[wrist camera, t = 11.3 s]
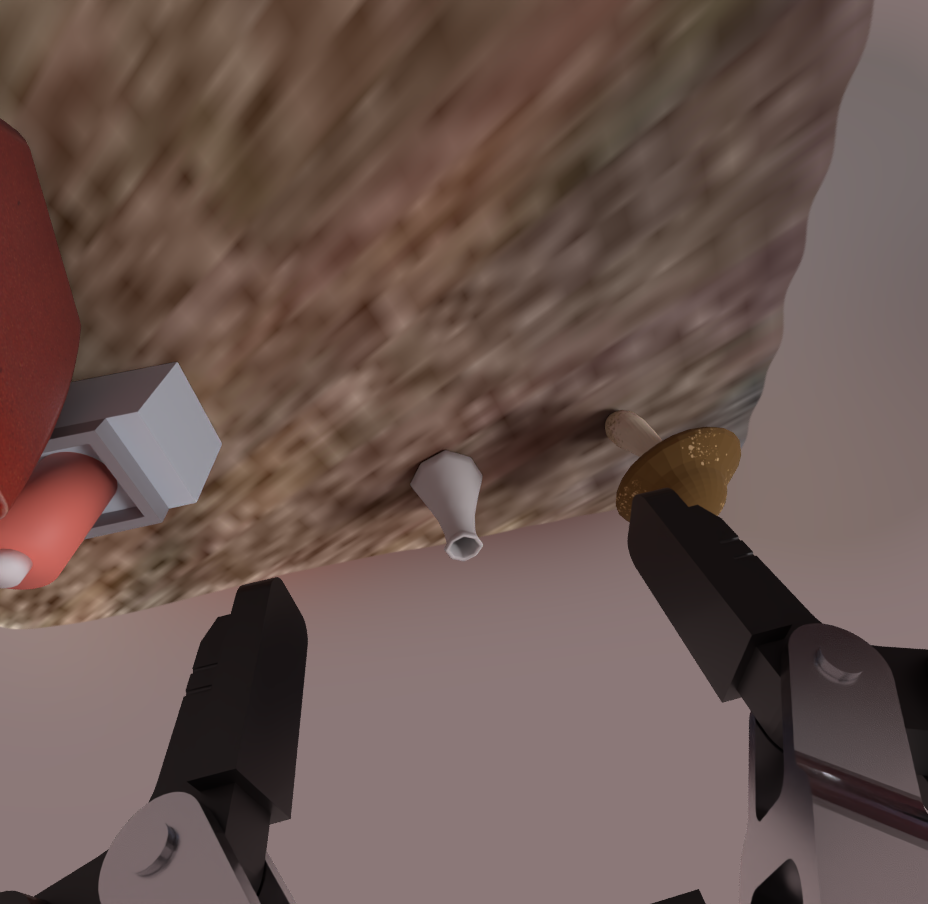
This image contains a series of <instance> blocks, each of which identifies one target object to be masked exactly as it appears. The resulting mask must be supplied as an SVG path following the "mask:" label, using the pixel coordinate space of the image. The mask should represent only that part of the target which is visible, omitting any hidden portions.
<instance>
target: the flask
mask: <svg viewBox="0 0 928 904" xmlns="http://www.w3.org/2000/svg"><path fill="white" fill-rule="evenodd" d="M482 477H483V475H482V474H481V472H480V471H479V469H478V468H477V466H476V465H475V463H474V462H473V460H472V458H471V457H468V456H464V455H461V454H458V453H454V452H451V451H448V450H445V451H443V452H441V453H439V454H437V455H435V456H433V457H432V458H430V459H428V460H426V461H424V462H422V463H421V464H420V466H419V468H418V470H417V472H416V474H415V476H414V478H413V480H412V482H411V484H410V485H411V487H412V488H413V489H414V491H415V492H416V493H417V494H418V496H419V497H420V498H421V499H422V501H423V502H424V503H425V504H426V506H427V507H428V508H429V509H430V511H431V512H432V513H433V515H434V516H435V517H436V519H437V520H438V521H439V524H440V526H441V528H442V530H443V532H444V534H445V538H446V542H447V544H446V546H445V548H444V550H445V552H446V553H447V554H448V555H449V557H451V559H454V560H459V561H466V560H468V559H470V558H472V557H474V556H476V555H477V554H478V552H479V551H480V549H481V548H482V546H483V543H482V542H481V541H480V539H479V538H478V536H477V535H476V531H475V511H476V505H477V499H478V495H479V490H480V486H481V482H482Z"/></svg>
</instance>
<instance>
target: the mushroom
mask: <svg viewBox="0 0 928 904" xmlns="http://www.w3.org/2000/svg"><path fill="white" fill-rule="evenodd" d="M605 431H606V435H607V437H608V438H609V439H610V440H611V441H612V442H614V443H615V444H616V445H617V446H618V447H620V448H623V449H625V450H627V451H629V452H631V453H633V454H635V455H637V456H639V457H640V458H639V459H638V460H637V461H636V462H635V463H634V464H633V465H632V466H631V467H630V468H629V470H628V471H627V472H626V474H625V475H624V477H623V478H622V480H621V483H620V485H619V487H618V490H617V495H616V507H617V510H618V512H619V514H620V515H621V516H622V517H623V518H624V519H625V520H627V521H628V522H630V516H631V508H632V501H633V497H634V496H635V495H637V494H641V493H646V492H650V491H654V490H658V489H663V488H671V489H672V490H674V491H675V492H676V493H677V494H678V496H679V497H680V498H681V499H682V500H683V501H684V502H685V503H686V505H687V506H688V507H690V506H694V505H699V506H701V507H703V508H704V509H706V510H708V511H710V512H711V513H713V514H715V515H716V516H718V515H719V513H720V512H721V510H722V509H723V506H724V504H725V502H726V496H727V484H728V483H729V481H730V480H731V478H732V476H733V474H734V473H735V471H736V469H737V467H738V465H739V461H740V457H741V449H740V441H739V439H738V438H737V437H736V435H735V434H734V433H733V432H731V431H729V430H726V429H724V428H717V427H701V428H695V429H689V430H686V431H683V432H681V433H678V434H675V435H672V436H671V437H669V438H667V439H665V440H663V441H662V440H661V438H660V437H659V436H658V435H657V434H656V432H655V431H654V430H653V429H652V428H651V427H650V426H649V425H648V424H647V423H646V422H645V421H644V420H643V419H642V418H641V417H639V416H638V415H636V414H635V413H633V412H631V411H624V410H620V411H616V412H614V413H612V414H611V415H610V416H608V418H607V420H606V422H605Z"/></svg>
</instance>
